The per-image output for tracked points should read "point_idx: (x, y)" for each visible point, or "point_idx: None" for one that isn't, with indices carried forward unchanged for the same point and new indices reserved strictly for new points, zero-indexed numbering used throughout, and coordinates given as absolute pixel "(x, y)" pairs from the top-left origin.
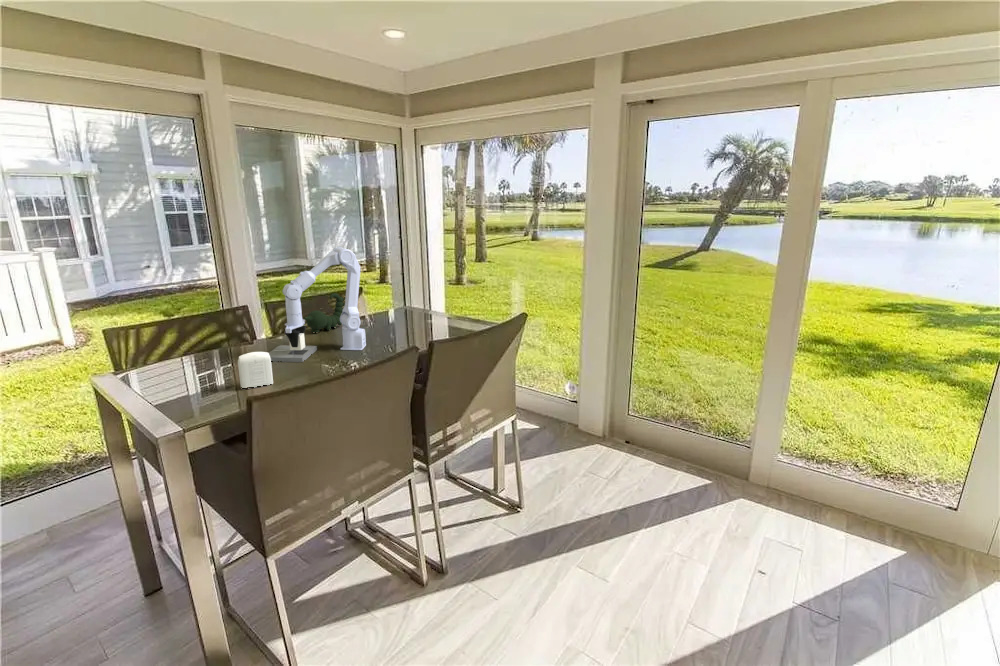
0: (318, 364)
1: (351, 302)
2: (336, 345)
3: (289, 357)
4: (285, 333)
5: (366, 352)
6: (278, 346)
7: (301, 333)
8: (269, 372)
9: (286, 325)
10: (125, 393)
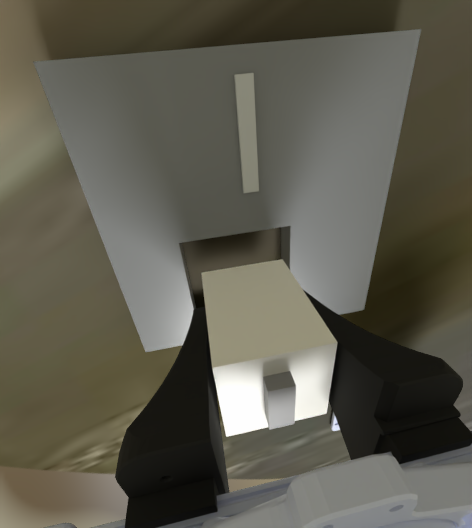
0: (143, 396)
1: None
2: (410, 334)
3: (127, 289)
4: (123, 439)
5: (310, 441)
6: (381, 40)
7: (321, 402)
8: None
9: (286, 505)
10: None
